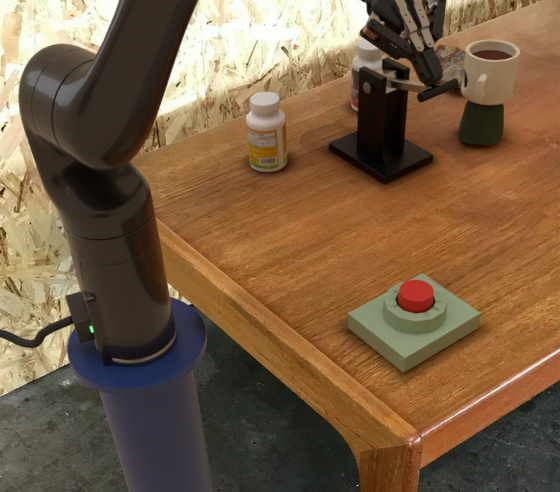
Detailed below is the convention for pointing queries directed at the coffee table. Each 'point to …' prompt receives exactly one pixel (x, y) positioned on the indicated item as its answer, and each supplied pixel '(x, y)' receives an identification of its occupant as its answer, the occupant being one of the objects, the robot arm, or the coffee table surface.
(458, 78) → the decorative stone
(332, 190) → the coffee table surface
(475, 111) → the character mug
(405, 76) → the switch bracket
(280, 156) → the supplement bottle
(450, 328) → the button block
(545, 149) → the coffee table surface
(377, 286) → the coffee table surface
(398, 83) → the switch lever
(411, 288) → the button
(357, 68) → the pill bottle
